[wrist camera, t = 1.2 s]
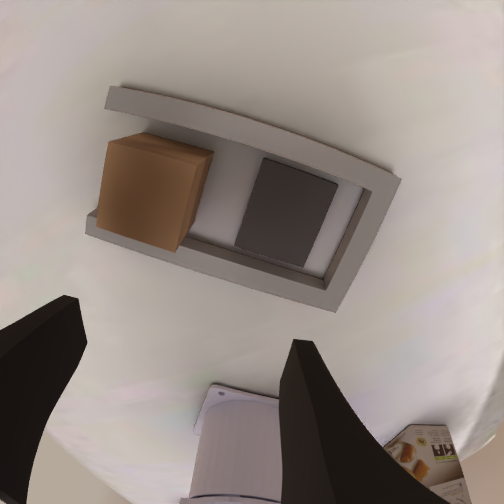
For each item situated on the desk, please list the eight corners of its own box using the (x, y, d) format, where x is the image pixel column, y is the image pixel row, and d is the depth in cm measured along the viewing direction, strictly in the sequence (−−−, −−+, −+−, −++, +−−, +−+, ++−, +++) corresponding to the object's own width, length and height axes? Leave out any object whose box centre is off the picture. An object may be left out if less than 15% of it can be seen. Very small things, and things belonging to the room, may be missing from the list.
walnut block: (214, 151, 16) (197, 165, 12) (194, 221, 17) (175, 253, 14) (143, 132, 15) (108, 141, 12) (129, 200, 17) (96, 226, 13)
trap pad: (337, 184, 16) (338, 185, 16) (302, 265, 18) (302, 267, 18) (264, 157, 15) (264, 158, 15) (234, 243, 18) (234, 245, 17)
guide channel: (393, 173, 15) (401, 179, 14) (332, 301, 19) (335, 312, 18) (120, 86, 14) (109, 86, 13) (94, 226, 18) (85, 233, 16)
